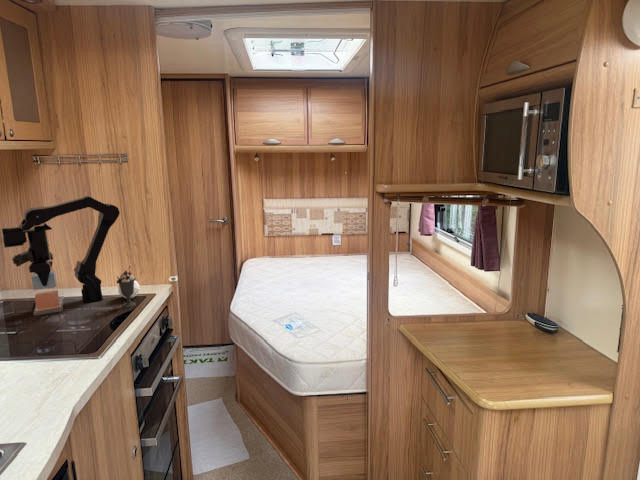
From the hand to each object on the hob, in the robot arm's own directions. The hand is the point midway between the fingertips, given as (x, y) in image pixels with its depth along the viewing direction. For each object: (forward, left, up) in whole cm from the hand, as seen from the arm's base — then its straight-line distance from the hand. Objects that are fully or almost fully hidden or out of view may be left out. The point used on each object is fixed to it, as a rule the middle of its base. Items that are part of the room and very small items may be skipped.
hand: (45, 284), depth 164 cm
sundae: (-27, +11, -10) cm, 31 cm away
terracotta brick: (0, 0, -9) cm, 9 cm away
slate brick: (0, 0, -1) cm, 1 cm away
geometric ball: (-28, +2, -10) cm, 30 cm away
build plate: (0, -3, -10) cm, 10 cm away
